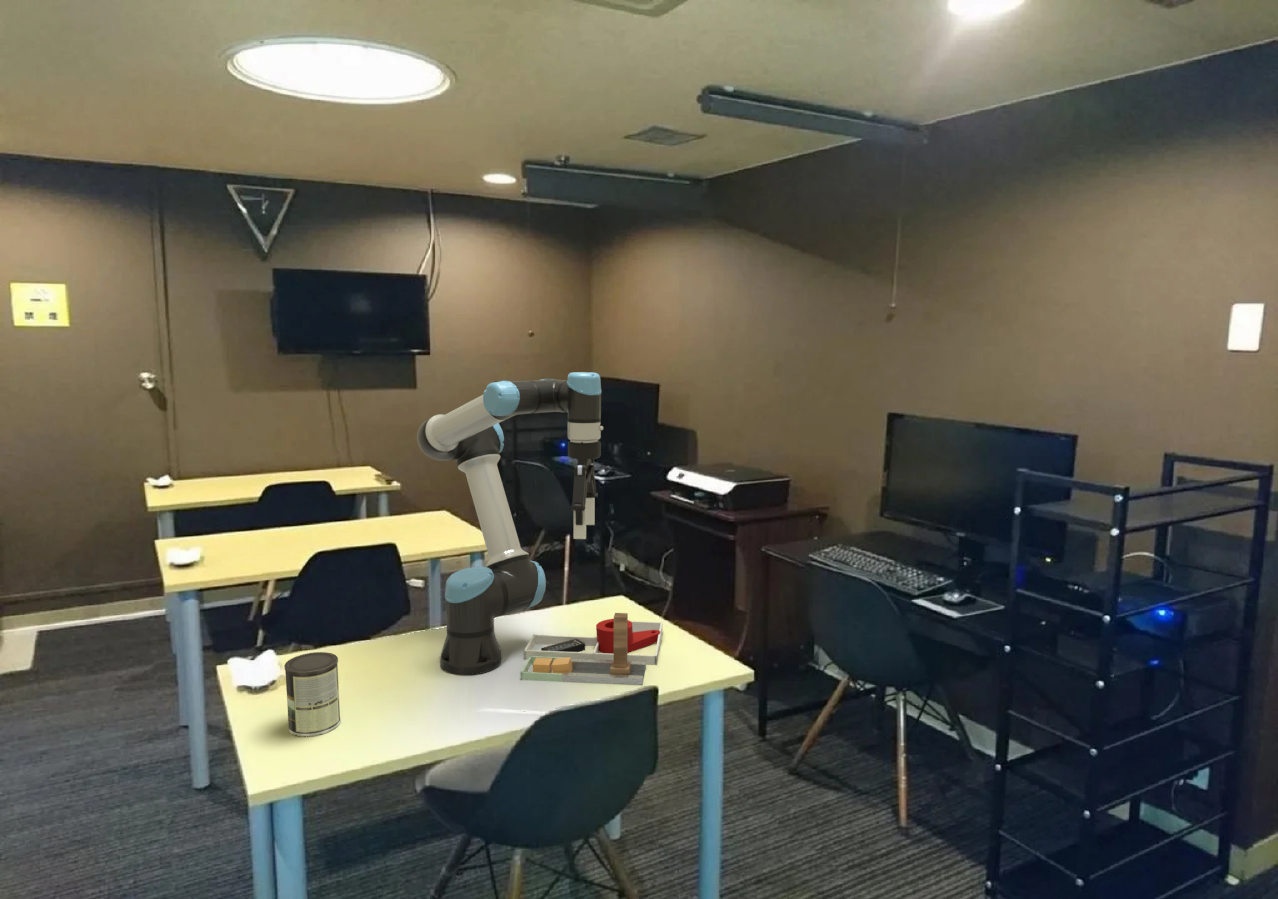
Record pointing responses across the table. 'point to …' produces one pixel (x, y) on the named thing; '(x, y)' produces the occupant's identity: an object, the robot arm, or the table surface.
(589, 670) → the shallow gray tray
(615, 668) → the wooden post on base
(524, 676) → the tray
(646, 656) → the organizer
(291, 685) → the coffee can
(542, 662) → the chip
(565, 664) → the orange block
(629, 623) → the lever
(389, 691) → the table surface
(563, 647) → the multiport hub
